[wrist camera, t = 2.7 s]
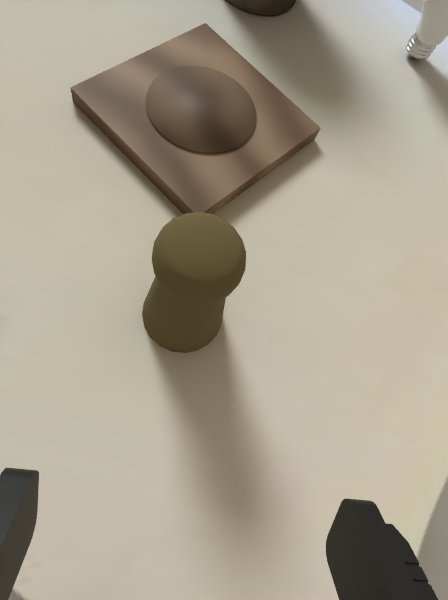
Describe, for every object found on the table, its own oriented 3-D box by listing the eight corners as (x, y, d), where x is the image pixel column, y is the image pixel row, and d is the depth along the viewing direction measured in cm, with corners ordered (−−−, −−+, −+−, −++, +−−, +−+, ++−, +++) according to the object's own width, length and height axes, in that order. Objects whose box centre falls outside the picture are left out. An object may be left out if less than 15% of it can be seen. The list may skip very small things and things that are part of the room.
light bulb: (378, 55, 47) (444, -55, 37) (399, 27, 50) (465, -82, 40) (428, 86, 47) (507, -16, 37) (446, 57, 50) (525, -46, 40)
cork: (237, 320, 32) (283, 255, 22) (176, 369, 30) (196, 320, 20) (188, 263, 33) (210, 176, 23) (125, 306, 31) (120, 229, 21)
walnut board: (195, 226, 34) (198, 214, 33) (73, 101, 37) (70, 85, 35) (314, 139, 41) (321, 126, 39) (203, 37, 43) (205, 21, 41)
